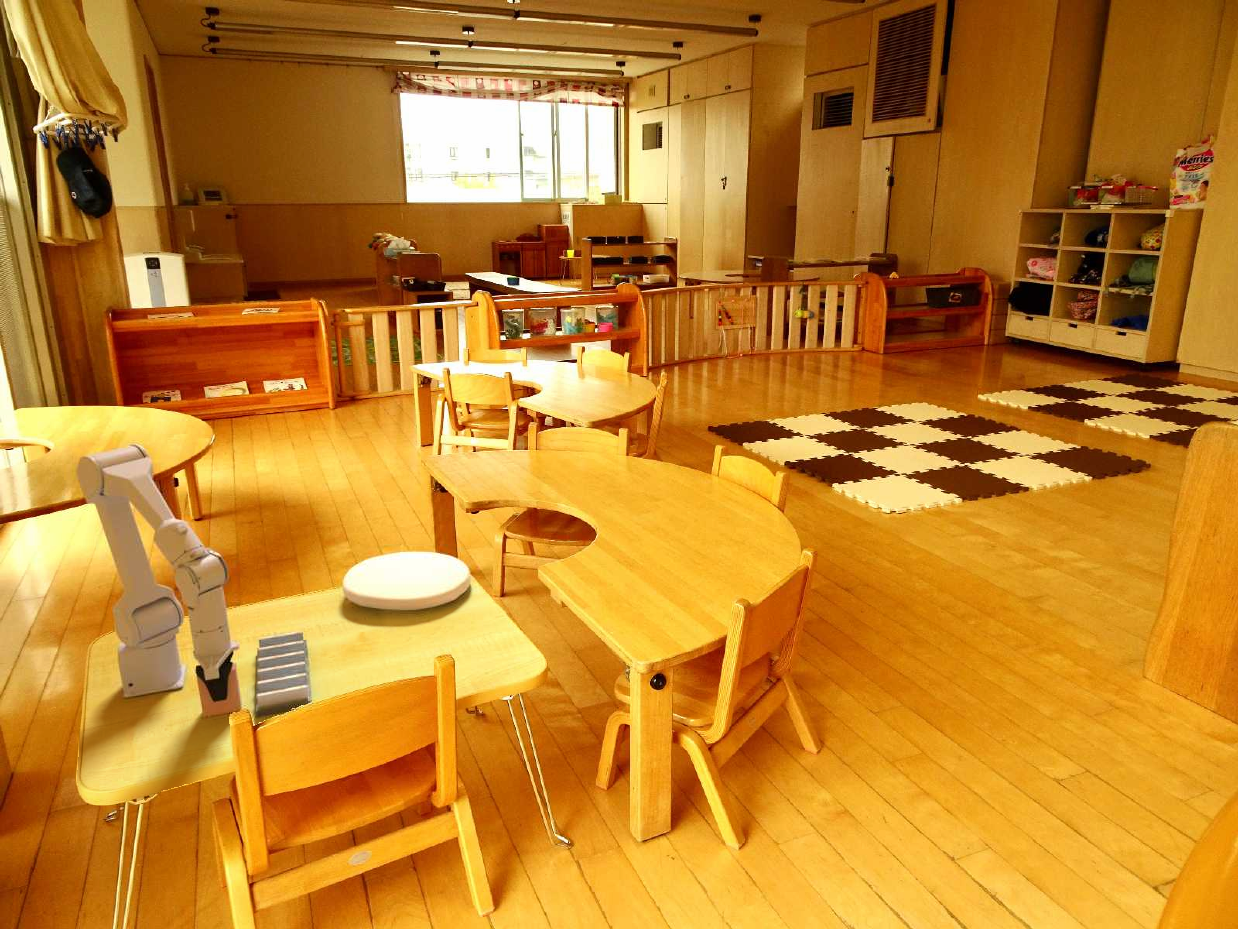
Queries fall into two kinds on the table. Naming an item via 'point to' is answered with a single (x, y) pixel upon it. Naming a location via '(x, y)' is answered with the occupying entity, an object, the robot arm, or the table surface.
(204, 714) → the tile
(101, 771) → the table surface
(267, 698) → the rack
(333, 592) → the table surface
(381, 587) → the white round disc
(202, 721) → the table surface
